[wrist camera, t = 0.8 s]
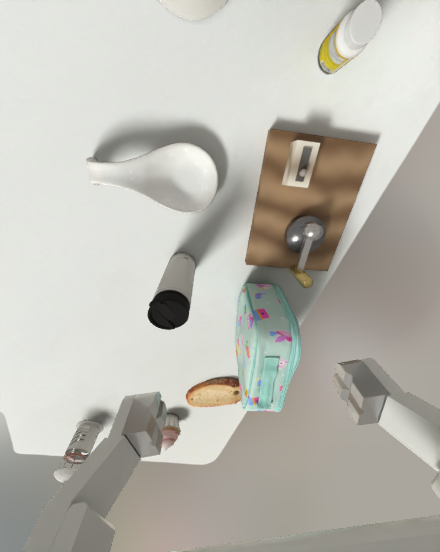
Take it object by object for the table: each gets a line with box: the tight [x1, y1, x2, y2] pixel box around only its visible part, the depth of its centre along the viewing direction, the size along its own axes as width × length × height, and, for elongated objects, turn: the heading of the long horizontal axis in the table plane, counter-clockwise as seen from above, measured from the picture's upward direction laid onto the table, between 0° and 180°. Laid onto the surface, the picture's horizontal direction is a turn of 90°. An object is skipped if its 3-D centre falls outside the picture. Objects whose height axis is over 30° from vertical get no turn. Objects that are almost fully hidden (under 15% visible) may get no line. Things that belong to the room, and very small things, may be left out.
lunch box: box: [236, 283, 301, 412], centre depth 48 cm, size 27×10×21 cm, turn 179°
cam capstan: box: [284, 215, 326, 288], centre depth 42 cm, size 13×8×8 cm, turn 174°
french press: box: [54, 420, 103, 485], centre depth 67 cm, size 10×12×25 cm
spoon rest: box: [86, 143, 218, 214], centre depth 37 cm, size 24×12×7 cm, turn 86°
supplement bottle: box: [317, 0, 382, 75], centre depth 29 cm, size 5×5×8 cm
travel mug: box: [148, 253, 196, 330], centre depth 39 cm, size 6×7×20 cm
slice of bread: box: [186, 378, 241, 407], centre depth 70 cm, size 18×18×4 cm
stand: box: [245, 129, 377, 271], centre depth 41 cm, size 26×20×6 cm
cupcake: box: [161, 414, 181, 451], centre depth 73 cm, size 9×9×10 cm
